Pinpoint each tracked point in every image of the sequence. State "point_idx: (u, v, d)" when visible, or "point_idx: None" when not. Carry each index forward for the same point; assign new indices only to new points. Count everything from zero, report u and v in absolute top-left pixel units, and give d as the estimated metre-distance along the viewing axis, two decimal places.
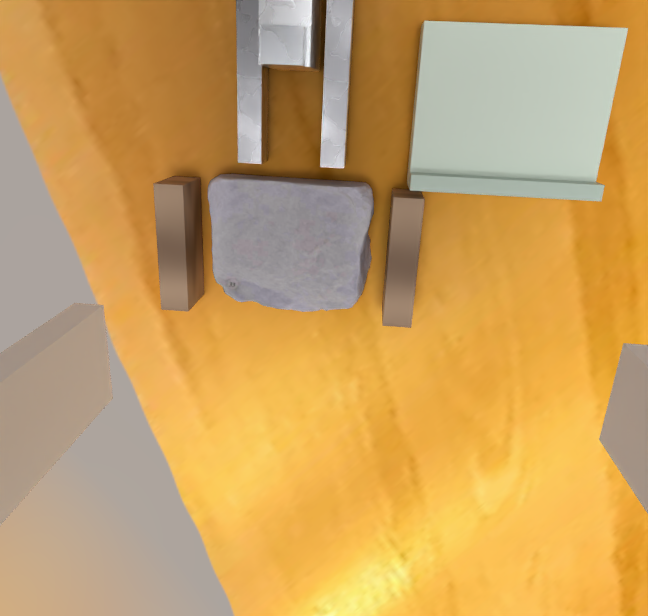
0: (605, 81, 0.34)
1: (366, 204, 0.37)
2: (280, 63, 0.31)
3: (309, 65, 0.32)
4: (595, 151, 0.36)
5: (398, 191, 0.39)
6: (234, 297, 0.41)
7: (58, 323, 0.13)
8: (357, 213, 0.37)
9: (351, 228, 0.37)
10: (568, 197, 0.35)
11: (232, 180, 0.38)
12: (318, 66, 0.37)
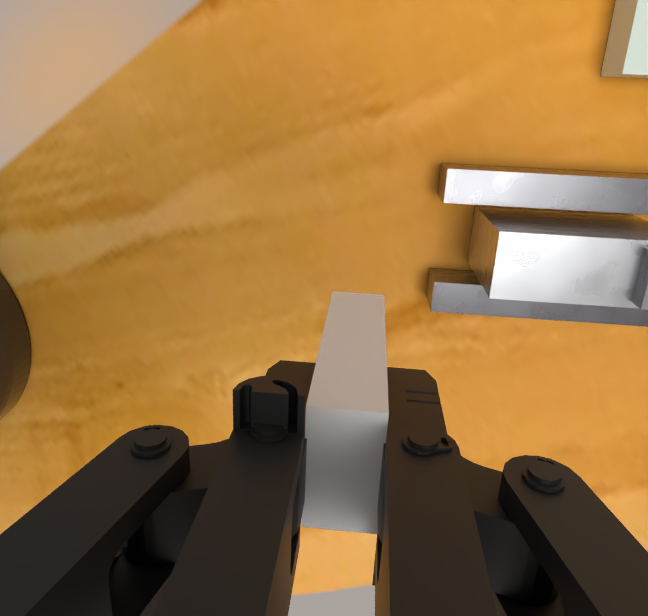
0: None
1: None
2: None
3: None
4: None
5: None
6: None
7: (341, 308, 0.15)
8: None
9: None
10: None
11: None
12: (637, 219, 0.28)
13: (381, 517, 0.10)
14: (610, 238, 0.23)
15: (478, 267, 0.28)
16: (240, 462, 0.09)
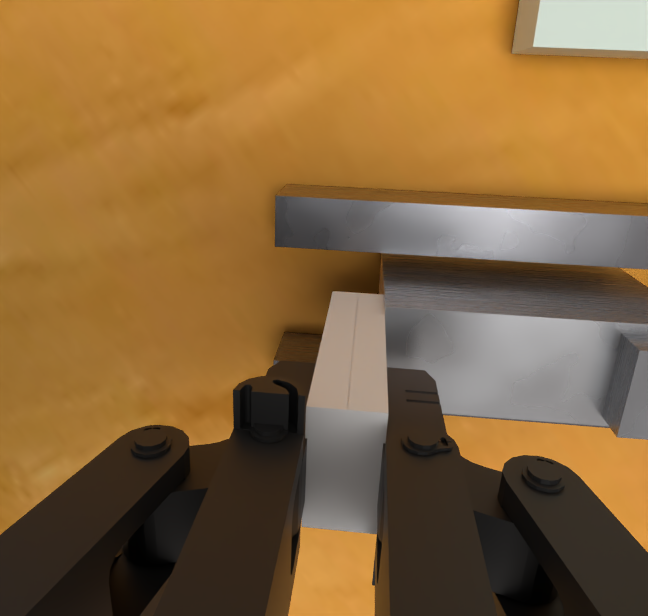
0: None
1: None
2: None
3: None
4: None
5: None
6: None
7: (341, 308, 0.15)
8: None
9: None
10: None
11: None
12: (616, 271, 0.19)
13: (381, 517, 0.10)
14: (565, 318, 0.14)
15: None
16: (240, 462, 0.09)
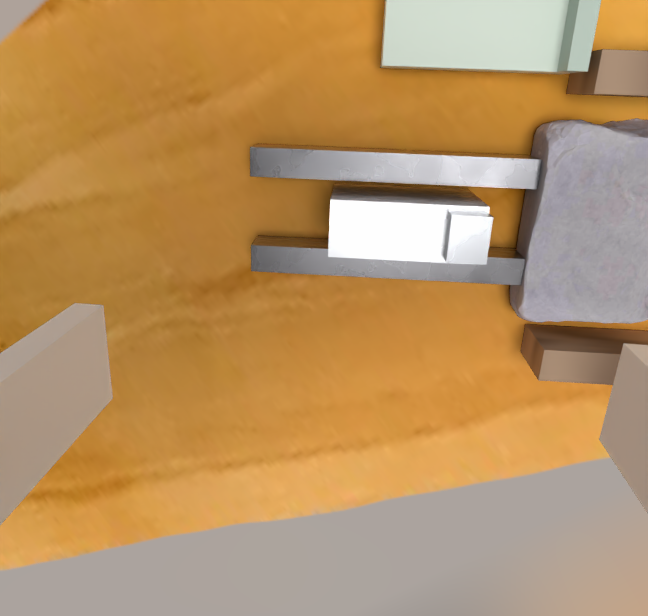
0: None
1: (573, 131, 0.29)
2: (488, 242, 0.28)
3: (487, 207, 0.28)
4: None
5: (576, 85, 0.30)
6: None
7: (58, 324, 0.13)
8: (584, 142, 0.29)
9: (604, 150, 0.29)
10: None
11: (524, 294, 0.33)
12: (466, 191, 0.33)
13: None
14: (420, 203, 0.28)
15: None
16: None
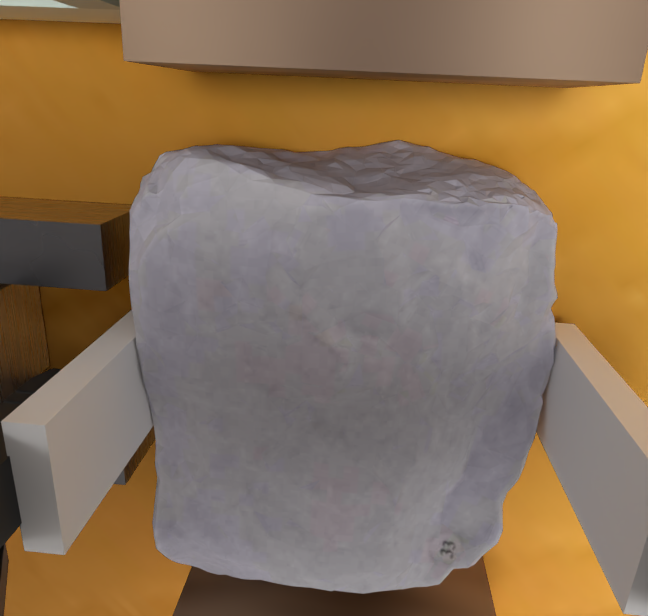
0: None
1: (176, 176, 0.11)
2: None
3: None
4: None
5: None
6: (486, 547, 0.15)
7: None
8: (198, 206, 0.11)
9: (243, 232, 0.11)
10: None
11: (155, 530, 0.15)
12: None
13: None
14: None
15: None
16: None
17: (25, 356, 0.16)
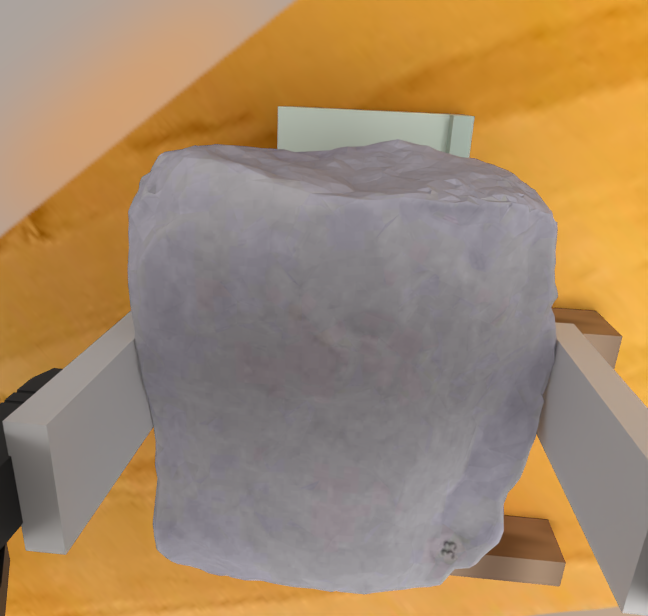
0: (333, 122, 0.30)
1: (175, 176, 0.11)
2: None
3: None
4: (412, 121, 0.29)
5: None
6: (488, 547, 0.15)
7: None
8: (196, 206, 0.11)
9: (242, 231, 0.11)
10: None
11: (155, 531, 0.15)
12: None
13: None
14: None
15: None
16: None
17: None
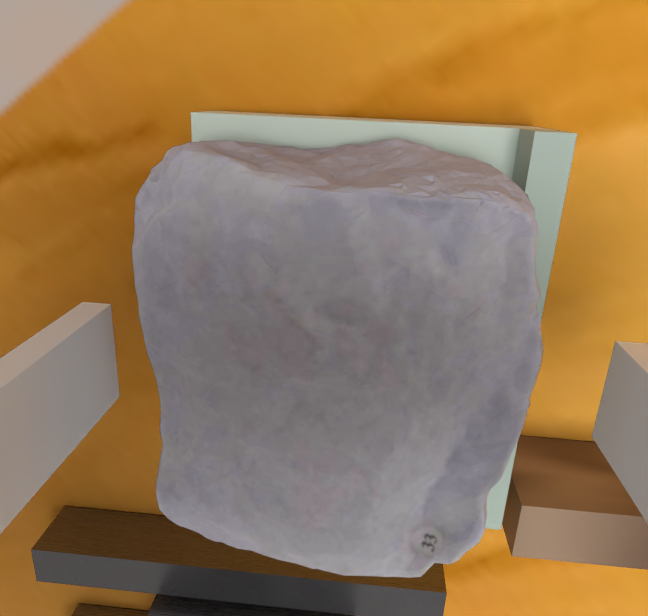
0: (295, 142, 0.16)
1: (172, 167, 0.12)
2: None
3: None
4: (446, 140, 0.15)
5: None
6: (468, 545, 0.15)
7: (67, 322, 0.13)
8: (188, 194, 0.12)
9: (223, 218, 0.12)
10: (556, 216, 0.14)
11: (157, 492, 0.16)
12: None
13: None
14: None
15: None
16: None
17: None
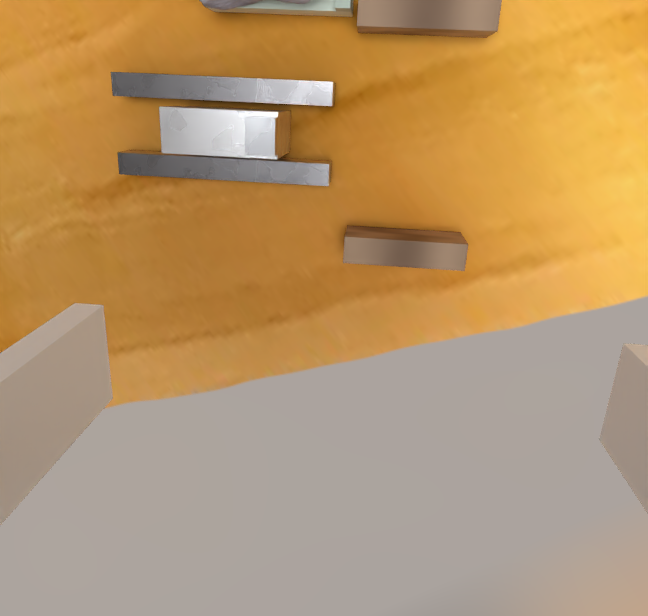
0: None
1: None
2: (274, 138, 0.37)
3: (277, 113, 0.37)
4: None
5: None
6: None
7: (58, 323, 0.13)
8: None
9: None
10: None
11: None
12: None
13: None
14: (226, 109, 0.37)
15: None
16: None
17: (288, 141, 0.42)
